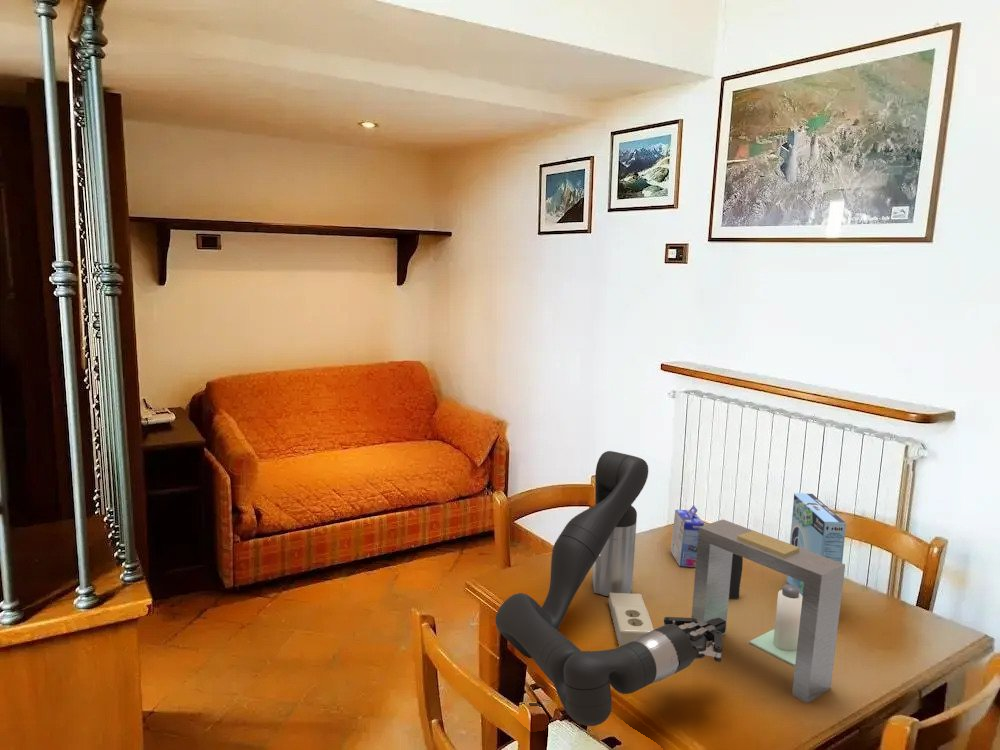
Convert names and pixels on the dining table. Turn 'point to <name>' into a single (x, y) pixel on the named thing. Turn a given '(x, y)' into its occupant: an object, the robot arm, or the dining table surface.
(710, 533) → the arch
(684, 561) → the ink cartridge box
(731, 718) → the dining table surface
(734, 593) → the black rounded block
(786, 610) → the bottle
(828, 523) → the gum box
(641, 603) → the electrical outlet
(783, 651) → the mat
